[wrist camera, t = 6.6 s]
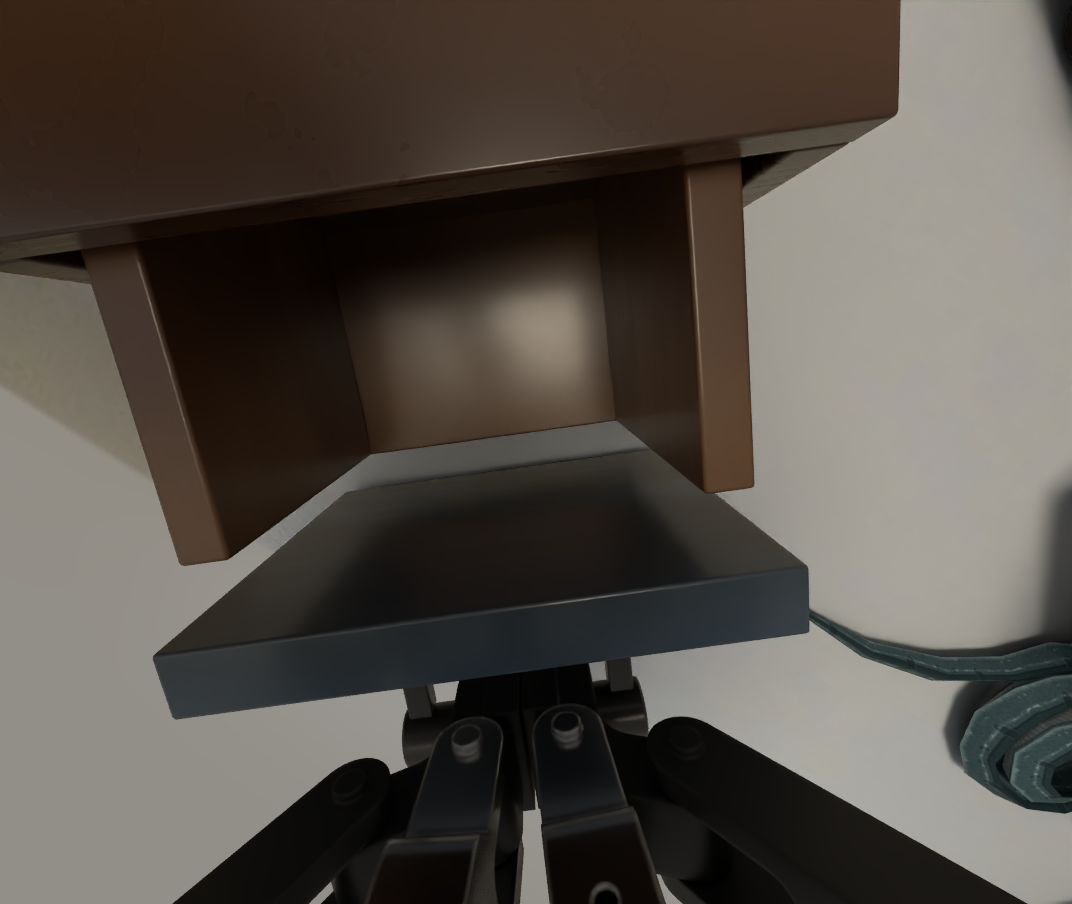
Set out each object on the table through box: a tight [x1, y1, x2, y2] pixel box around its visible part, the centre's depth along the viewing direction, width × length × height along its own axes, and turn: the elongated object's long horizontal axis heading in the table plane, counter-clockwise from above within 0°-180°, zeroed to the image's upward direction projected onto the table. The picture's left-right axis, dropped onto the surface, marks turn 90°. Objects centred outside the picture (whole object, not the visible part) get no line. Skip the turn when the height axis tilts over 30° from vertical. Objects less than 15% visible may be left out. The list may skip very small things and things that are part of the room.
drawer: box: [80, 157, 809, 767], centre depth 12 cm, size 14×10×9 cm
